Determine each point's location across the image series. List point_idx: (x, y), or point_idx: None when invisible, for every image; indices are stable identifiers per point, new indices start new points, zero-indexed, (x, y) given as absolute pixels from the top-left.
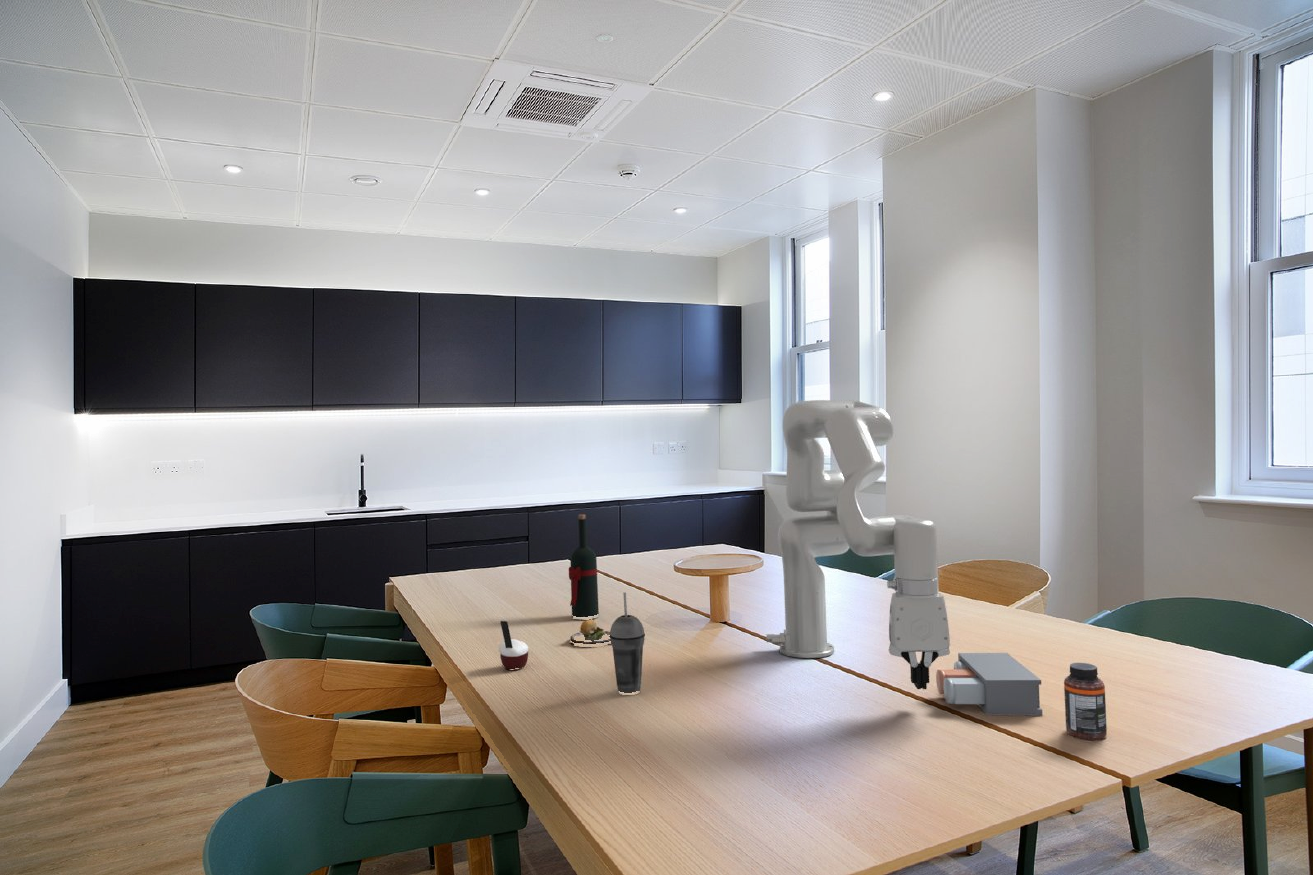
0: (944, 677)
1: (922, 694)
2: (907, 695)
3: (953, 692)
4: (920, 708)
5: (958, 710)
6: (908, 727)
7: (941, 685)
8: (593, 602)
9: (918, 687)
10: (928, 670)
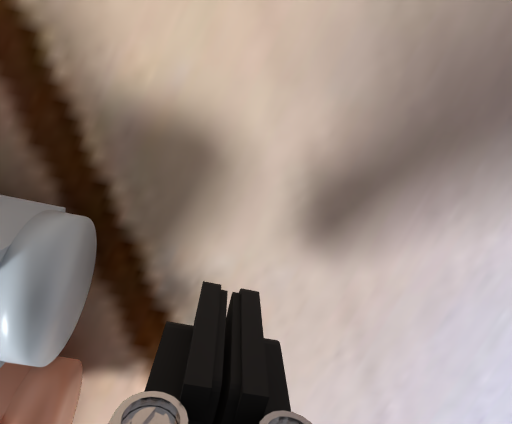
0: (16, 418)
1: None
2: None
3: (42, 221)
4: (226, 271)
5: None
6: (407, 38)
7: (61, 382)
8: None
9: (254, 293)
10: (151, 383)
